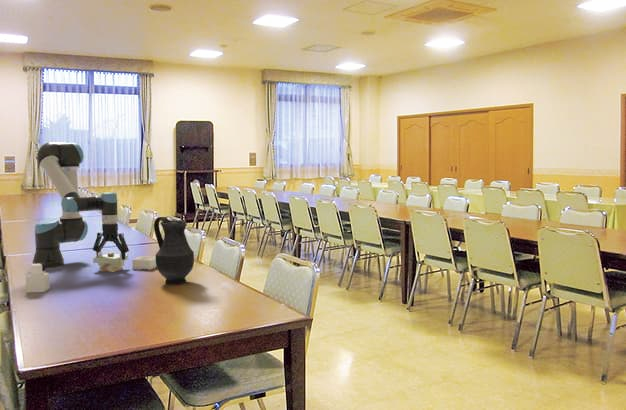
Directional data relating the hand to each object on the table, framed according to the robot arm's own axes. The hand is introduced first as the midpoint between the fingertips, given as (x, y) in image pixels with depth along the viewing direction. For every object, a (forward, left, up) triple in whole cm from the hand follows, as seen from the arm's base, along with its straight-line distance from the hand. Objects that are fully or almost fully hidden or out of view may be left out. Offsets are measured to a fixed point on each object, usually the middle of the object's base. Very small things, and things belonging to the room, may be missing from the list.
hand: (111, 265), depth 295 cm
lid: (0, 0, +2) cm, 2 cm away
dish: (+14, +10, -2) cm, 17 cm away
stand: (0, 0, -2) cm, 2 cm away
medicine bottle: (-4, -47, -3) cm, 47 cm away
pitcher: (+43, -16, -3) cm, 46 cm away
